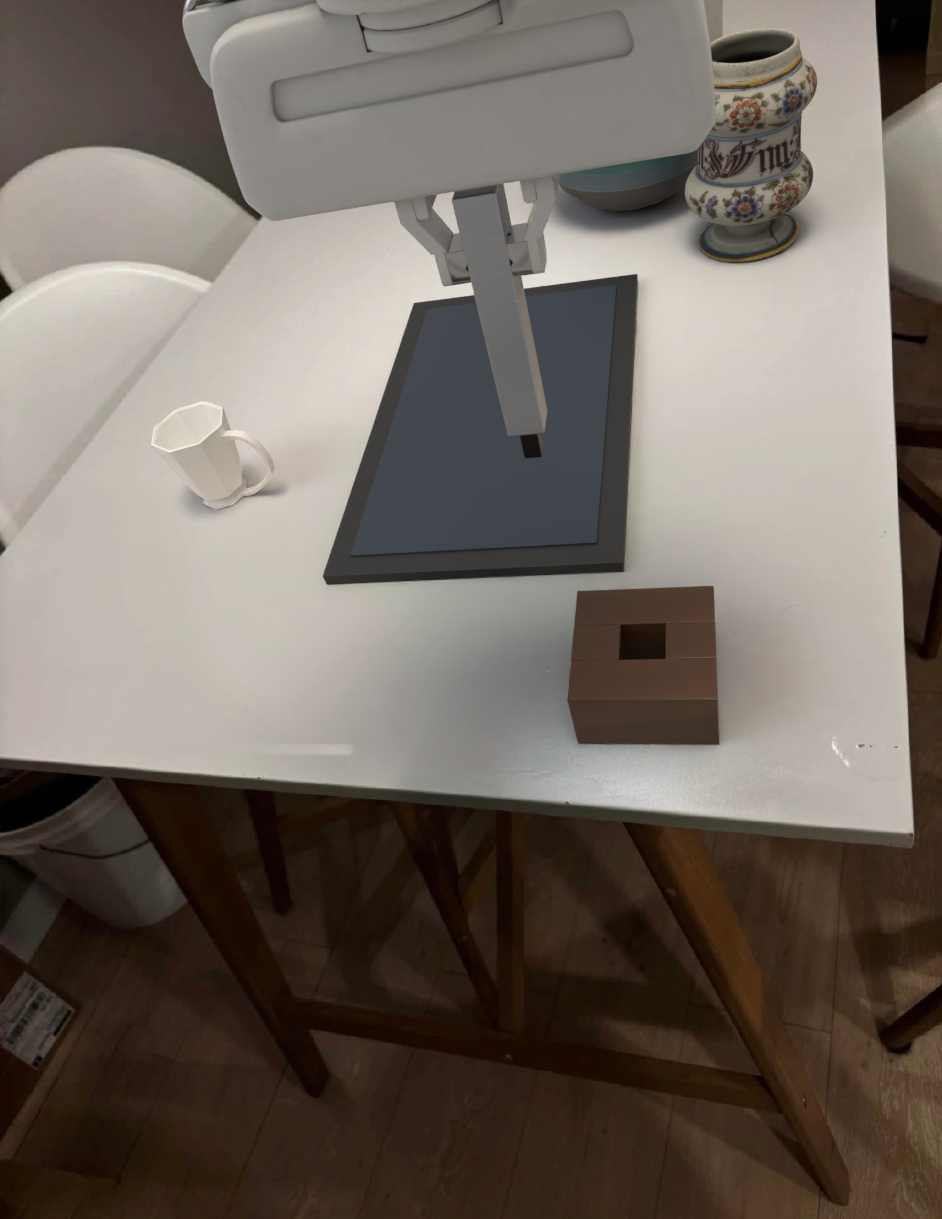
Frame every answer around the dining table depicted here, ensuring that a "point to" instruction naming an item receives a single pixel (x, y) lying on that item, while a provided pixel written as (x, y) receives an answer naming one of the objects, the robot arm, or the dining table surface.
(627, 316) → the drawing tablet
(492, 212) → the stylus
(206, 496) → the cup
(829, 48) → the dining table surface
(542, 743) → the dining table surface
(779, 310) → the dining table surface
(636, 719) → the brown block with hole
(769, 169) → the apothecary jar
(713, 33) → the planter
